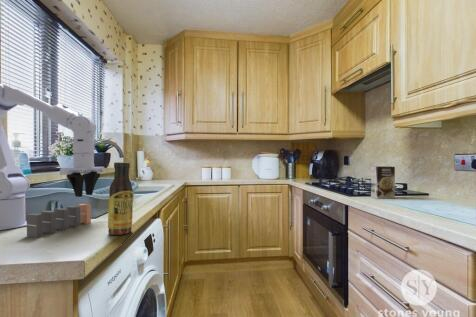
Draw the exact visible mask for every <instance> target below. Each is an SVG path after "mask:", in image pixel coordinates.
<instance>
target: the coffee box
mask: <svg viewBox="0 0 476 317" xmlns="http://www.w3.org/2000/svg"><path fill="white" fill-rule="evenodd" d="M395 169H396V167H395V166H388V165H387V166H377V165H376V166H373V165H371V170H370V174H371V176H370V180H371V181H370V197H371V198H374V199H377V200H378V199H379V200H381V199H384V200H386V199H390V200H391V199H392V200H393V199H394V200H395V198H396V191H395V190H396V189H395V188H396V184H395V183H396V177H395V176H396V171H395Z"/></svg>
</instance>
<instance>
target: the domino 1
mask: <svg viewBox="0 0 476 317" xmlns="http://www.w3.org/2000/svg"><path fill="white" fill-rule="evenodd" d="M26 222H27V226H26V237H29V238H35V239H39V238H42V237H43V235H44V233H43V232H42V214H41V213H28V214H26Z"/></svg>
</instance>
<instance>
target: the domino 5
mask: <svg viewBox="0 0 476 317" xmlns="http://www.w3.org/2000/svg"><path fill="white" fill-rule="evenodd" d="M77 206H78V207H80V223H85V224H84V225H89V224H92V207H91V206H92V204H88V203H81V204H77ZM88 223H89V224H88Z"/></svg>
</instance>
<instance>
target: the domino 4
mask: <svg viewBox="0 0 476 317" xmlns="http://www.w3.org/2000/svg"><path fill="white" fill-rule="evenodd" d="M66 209H69V227H71V226H78V227H80V225H81V223H80V207H78V205H77V206H76V205H75V206H74V205H69V206H66Z"/></svg>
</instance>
